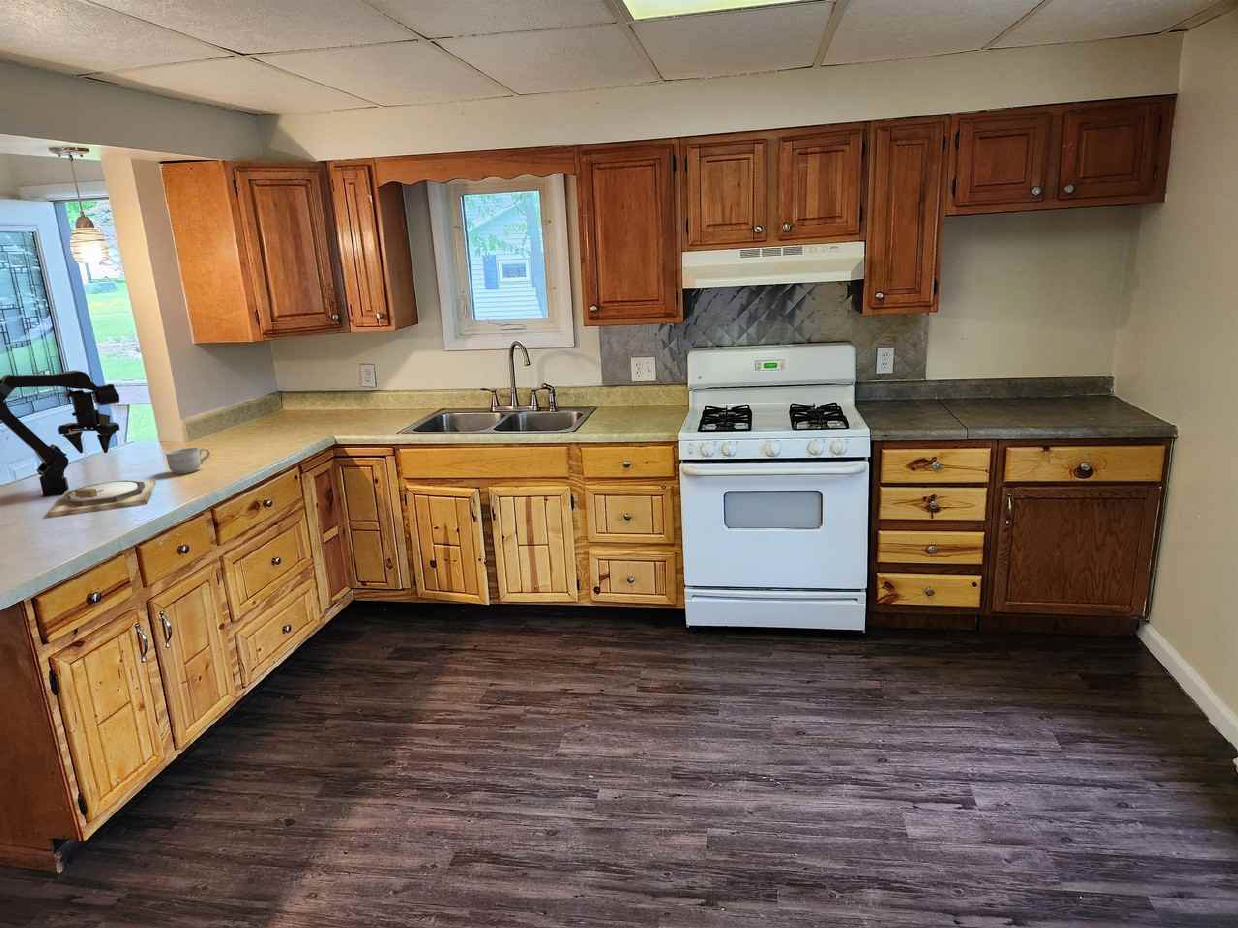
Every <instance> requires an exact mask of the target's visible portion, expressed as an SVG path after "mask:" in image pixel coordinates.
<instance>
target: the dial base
mask: <svg viewBox="0 0 1238 928" xmlns="http://www.w3.org/2000/svg"><path fill="white" fill-rule="evenodd" d="M112 482H113V481H110V482H109V481H108V482H107V483H112ZM115 482H133V483H136V484H137V486H138V488H137V489H136V490H133V491H130V492H126V493H123V494H120V495H117V496H113V497H106V498H98V499H91V500H75V499H70V496H69V495H70V494H71V493H72V492H74V491H75V490H78V489H82V488H85V487H89V486H94V485H99V484H105V483H106V482H101V483H96V484H90V485H86V486H84V487H79V488H76V489H72V490H68V491H65V492H64V494H61V496H60V497H59V498H58V499H57V501H56V502H55V503H54V505H53V506H52V507H51V508H50V509H49V511H47V514H48V515H47V516H48V518H54V517H62V516H69V515H77V514H86V513H90V512H99V511H106V510H112V509H119V508H121V509H122V508H129V507H135V506H140V505H147V504H149V500H150V498H151V496H152V494H153V492H154V489H155V487H156V485H157V482H156V479H150V480H142V481H135V480H119V481H118V480H116V481H115Z"/></svg>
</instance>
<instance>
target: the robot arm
mask: <svg viewBox="0 0 1238 928" xmlns="http://www.w3.org/2000/svg"><path fill="white" fill-rule="evenodd" d="M37 387H38V388H39V387H40V388H42V387H63V388H68V389H67V390H66V392H65V393H63V397H66V398H71V402H72V407H73V410H74V412H71V415H72V417H75V419H76V422H68V423H64V424H61V425H59V426H58V427H57V433H58V435H62V436H61V437H63V438H65V439H66V440H68V442H70V444H71V445H72V446H73V447H74V448H75V449H76V450H77V451H78V452H79V453H78V454H84V446H83V441H82V435H83V433H84V432H97V435H96V437H97V439H98V441H99V444H100V446H101V450H102V452H103V453H104V454H107V453H108V452H109V448H110V442H111V439H112V437H113V435H114V434H117V432H119V431H120V425H119V424H118V423H117V422H111V415H110V414H105V413H100V411H99V410H98V409H96V408H95V406H94V404H97V405H98V406H100V407H102V406H107V405H114V404H119V403H120V395H119V394H120V393H118V391H117V389H116V387H115V384H114V383H108V384H102V385H98V386H97V384H95V383H94V382H93V381H92V380H91V378H90V376H89V374H87V373H86V372H84V371H80V370H69V371H65V372H64V371H63V372H59V373H54V374H25V375H23V374H21V375H20V374H17V375H16V374H15V375H12V374H5V375H4V376H2V377H1V378H0V422H1V423H2V424H4V425H5V427H7V428H8V429H9V430H10V431H11V432H12V433H14V434H15V436H17V437H18V438H19V439H20V440H21V441H22V442H24V443H25V444H26V445H27V446H28V447H29V448H31V450H33V452H34V453H35V455H36V456H37V458H38V459H39V460H40V461H41V463H40V464H39V466H37V468H36V472H37V473H38V475H39V478H38V479H39V482H40V486H41V487H40V488H41V490H42V494H41V497H43V498H44V497H49V496H57V495H58V496H59V495H63V494H64V492H65V491H69V489H70V488H69V484H68V482H69V481H68V479H67V477H66V476H65V474H64V473H65V469H67V467H68V466H69V459H68V457H67V456H68V455H67V454H66V453H64V452H63V451H62V450H61V448H59V446H58V445H55V444H51V445H48V444H46V443H45V442H44V441H43V440H42V439H41V438H39V436H38V435H36V434H35V433H34V432H33V431H32V430H31V429H30V428H28V426H26V425H25V424H24V422H22V421H21V420H20V419H19V418H17V416H15V415H14V414H13V413H12V411H11V410H10V408H9V407H8V405H7V404H6V402H5V400H6V399H7V398H8V397H9V396H10V395H11V393H12V392H13V391H14V390H15V389H16V388H37ZM72 389H76V390H72ZM84 390H89V391H84Z"/></svg>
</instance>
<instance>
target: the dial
mask: <svg viewBox="0 0 1238 928" xmlns="http://www.w3.org/2000/svg"><path fill="white" fill-rule="evenodd" d="M111 482H112V483H108V482H104V483H105V484H100V483H98V484H99V485H94V484H93V485H94V486H90V485H88V486H89V487H86V486H84V487H85V488H83V487H81V488H82V489H80V488H77V489H78V490H76V489H74V490H75V491H74V492H72V493H71V494H70V495H69V496H70V499H75V500H91V499H98V498H106V497H113V496H117V495H120V494H123V493H126V492H130V491H133V490H136V489H137V488H138V486H137V484H136V483H133V482H116V481H111Z"/></svg>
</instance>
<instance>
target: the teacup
mask: <svg viewBox="0 0 1238 928" xmlns="http://www.w3.org/2000/svg"><path fill="white" fill-rule="evenodd" d="M204 451H205V452H206V456H204V457H203V458H201V455H202V452H204ZM210 455H211V451H210V449H208V448H206V447H202V448H201V447H200V448H199V447H188V448H187V447H185V448H180V449H175V450H170V451H167V452H166V453H165V456H166V461H167V464H168V468H169V469H170V471H172V472H173V473H176V474H186V473H193V472H196V471H197V470H198V469H199V468H200V466H201V465H203V463H204V462H205V461H206V460H208V459H209V457H210Z"/></svg>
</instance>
